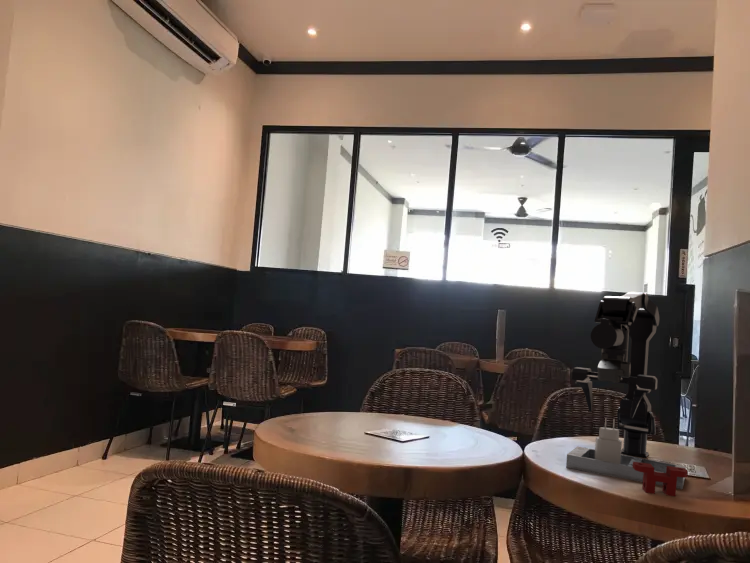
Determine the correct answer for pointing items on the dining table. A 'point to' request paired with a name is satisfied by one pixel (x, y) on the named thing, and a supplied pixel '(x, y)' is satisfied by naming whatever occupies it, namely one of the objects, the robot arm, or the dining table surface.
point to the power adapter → (608, 445)
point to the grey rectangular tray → (615, 466)
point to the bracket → (660, 477)
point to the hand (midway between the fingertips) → (610, 414)
